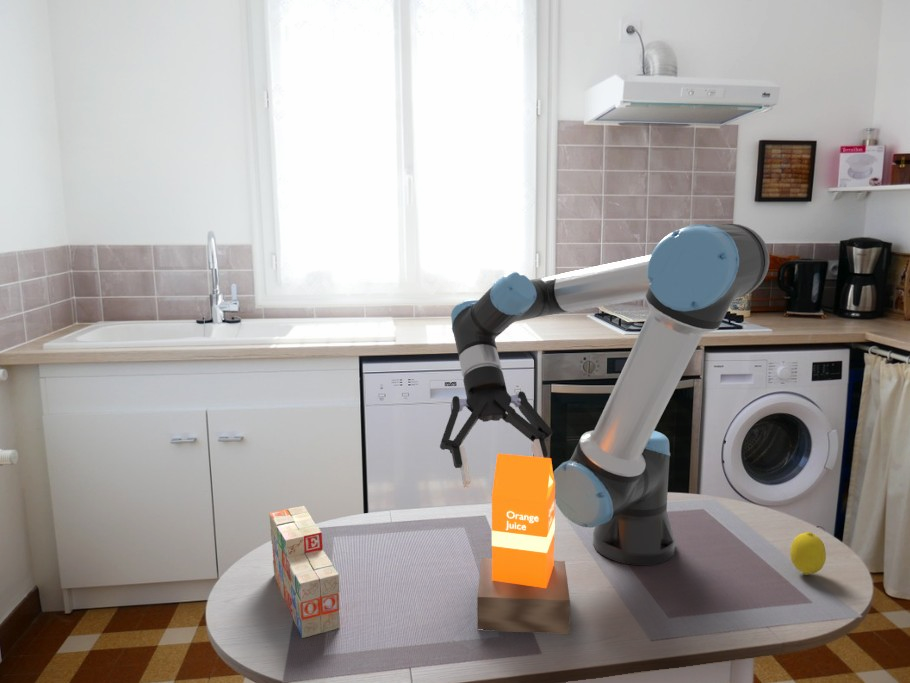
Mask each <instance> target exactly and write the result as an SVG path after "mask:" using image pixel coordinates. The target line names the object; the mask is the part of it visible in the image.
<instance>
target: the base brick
mask: <svg viewBox="0 0 910 683" xmlns="http://www.w3.org/2000/svg"><path fill="white" fill-rule="evenodd" d="M480 559H481V560H480V569H479V570H480V571H479V576H478V577H479V578H478V588H477V598H476V599H477V606H476V607H477V609H476V610H477V613H476V614H477V616H476V617H477V630H478V629H483V630H494V631H493V632H506V633H507V632H509V633H511V632H512V633H513V632H514V633H532V634H533V633H536V634H539V633H540V634H562V635H569V634H570V614H571V613H570V612H571V611H570V610H571V608H570V606H571V605H570V604H571V599H570V590H569V583H568V576H567V569H566V568H567V567H566V562H565V560H554V566H553V569H552V572H551V575H550V578H549V581H548V584H547V588H542V587H535V586H528V585H521V584H514V583H507V582H500V581H493V580H492V558H480ZM483 630H482V631H483Z"/></svg>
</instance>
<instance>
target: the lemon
mask: <svg viewBox="0 0 910 683" xmlns="http://www.w3.org/2000/svg"><path fill="white" fill-rule="evenodd" d="M789 551H790V552H789V553H790V554H789V555H790V560H791V562H792V565H793V566H794V567H795V568H796V569H797V570H798V571H799V572H802V573H803V574H804V576H809V575H810V574H815V573H817V572H819V571H821V569H822V568H823V567H824V565H825V564H826V559H827V553H826V551H827V550H826V547H825V543H824V542H823V540H822V539H821V538H820V537H819V536H818V535H816V534H814V533H813V532H811V531H807V532H803V533H799V534H798V535H796V536H795V537H794V538H793V539H792V542H791V546H790V550H789Z"/></svg>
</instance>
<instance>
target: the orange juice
mask: <svg viewBox="0 0 910 683" xmlns="http://www.w3.org/2000/svg"><path fill="white" fill-rule="evenodd" d="M496 455H497V456H496V461H495V462H496V463H495V470H494V477H493V478H494V479H493V486H492V492H491V559H492V580H493V581H500V582H507V583H514V584H521V585H528V586H535V587H542V588H547V584H548V581H549V578H550V575H551V572H552V569H553V566H554V561H555V531H556V530H555V528H556V526H555V523H556V518H555V511H556V510H555V509H556V508H555V507H556V506H555V505H556V500H555V482H554V476H553V473H554V471H553V464H552V458H550V457H546V458H542V457H534V456H528V455H519V454H518V455H517V454H508V453H507V454H506V453H497V454H496Z"/></svg>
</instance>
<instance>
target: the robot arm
mask: <svg viewBox="0 0 910 683" xmlns="http://www.w3.org/2000/svg"><path fill="white" fill-rule="evenodd" d="M769 267H770V254H769V250H768V246H767V244H766V242H765V240H764V239H763V238H762V236H761V235H760V234H758V233H757V232H756V231H755V230H754V229H751V228H750V227H748V226H745V225H742V224H737V223H724V224H723V223H722V224H712V225H711V224H705V223H703V224H691V225H688V226H685V227H682V228H680V229H676V230H674V231H672V232H669V234H667V235H666V236H664V237H663V238H662V239H661V240H660V241H659V242H658V243H657V245H656V246H655V247H654V248H653V250H652V252H651V254H647V255H643V256H642V255H641V256H639V257H634V258H630V259H629V258H628V259H623V260H621V261H620V260H619V261H615V262H609V263H606V264H601V265H596V266H592V267H587V268H586V267H585V268H583V269H578V270H572V271H568V272H563V273H559V274H554V275H553V274H552V275H548V276H545V277H538V278H533V279H530V278H529V277H527V276H526V275H524V274H523V273H521V274H520V273H519V272H517V271H509V272H507V273H505V274H504V275H503V276H501V278H499V279H497V280H496V281H495V282H494V283H493V284H492V285H491V287H490V288H489V289H488V290H487V291H486V292H485V293H484V294H483V295H482V297H480V298H479V299H467V300H463V301H462V302H461V303H458V304H456V305H455V306H454V307H453V308H452V311H451V312H450V318H451V330H452V333H453V338H454V342H455V345H456V352H457V356H458V361H459V364H460V365H459V366H460V371H461V376H462V378H463V380H462V381H463V387H464V389H465V390H464V391H465V395H466V398H459V396H457V395H455V396H453V397H452V400H451V403H450V411H451V413H450V416H449V418H448V421H447V424H446V426H445V430H444V432H443V434H442V438H441V441H440V445H439V448H440V449H441V450H443V451H445V450H448V451H449V453H450V454H451V456H452V463H453V466H454V468H455V469H460V475H461V479H462V484H463V486H462V487H463V488H469V487H470V484H471V475H470V470H469V465H468V459H467V454H466V449H465V445H462V444H463V443H464V441H465V440H466V438H467V436H468V435H469V433H470V432H471V430H472V428H473V427H474V426H475V425H476V423H477V422H478V420H479V421H482V422H483V423H484V422H485V423H486V422H490V421H494V422H495V421H498V422H499V421H500V420H503V421H504V422H505V423H507V424H510V425H511V426H513V428H515V429H516V430H517V431H519V432H520V433H521V434H523V436H525V437H526V438H527V439H529V440H530V441H531V442H532V444H531V446H530V448H531V452H532V455H533V456H532V457H542V458H548V451H547V446H546V443H545V441H549V440H550V438H551V437H552V435H553V430H552V429H551V427H550V426H549V425H548V424H547V422H546V421H545V420H544V419H543V418H542V417H541V415H540V414H539V413H538V412H537V410H536V409H535V408H534V407H533V406H532V404H531V403H530V402H529V400H528V398H527V396H526V393H525V392H524V391H519V392H518V394H513V395H510V394H509V393H508V390H507V386H506V380H505V377H504V372H503V371H502V364H501V361H500V357H499V352H498V346H497V344H496V338H497V337H499V335H501V334H502V333H503V332H504V331H505V330H506V329H508V328H509V327H510V326H511V325H512V324H513V323H516V322H520V321H525V320H530V319H531V320H532V319H535V318H540V317H545V316H552V315H553V316H554V315H559V314H564V313H568V312H575V311H581V310H585V309H586V310H587V309H593V308H599V307H605V306H612V305H617V304H624V303H631V302H638V301H643V300H645V302H646V304H647V307H648V309H649V312H648V314H647V316H646V319H645V321H644V323H643V325H642V328H641V330H640V332H638V336H637V338H636V339H635V342H634V345H633V347H632V348H631V351H630V352H629V355H628V357H627V359H626V361H625V363H624V366H623V367H622V370H621V371H620V372H621V373H620V374H619V376H618V378H617V380H616V382H615V385H614V387H613V389H612V391H611V393H610V395H609V398H608V400H607V402H606V403H605V406H604V409H603V410H602V413H601V414H600V416H599V419H598V421H597V423H596V425H595V427H594V429H593V430H589V431H586V432H584V433H583V434H582V435H581V437H580V439H579V441H578V442H577V444H576V447H575V449H574V451H573V453H572V456H571V458H570V459H569V460H567V461H564V462H562V463H561V464H560V465H559V466H557V468H555V470H554V471H553V476H554V482H555V505H556V506H557V508H558V509H559V510H560V512H561V513H562V514H563V516H564V517H565V518H566V519H568V520H569V521H570V522H571V523H573V524H575V525H577V526H579V527H582V528H591V529H592V528H593V532H592V534H593V535H592V545H593V547H594V549H595V550H596V551H597V552H598V553H599V554H601V555H602V556H604V557H606V558H608V559H609V560H612V561H615V562H618V563H622V564H627V565H635V566H649V565H650V566H651V565H657V564H662V563H665V562H666V561H668V560H670V559H671V558H672V557H673V556H674V554H675V551H676V550H675V547H676V539H675V536H674V531H673V528H672V525H671V522H670V518H669V515H668V510H667V509H668V507H667V506H668V489H669V475H670V474H669V472H670V458H671V452H670V441H669V438H668V437H667V436H666V435H665V434H664V433H661V432H659V431H657V430H655V429H656V428H657V425H658V423H659V421H660V419H661V417H662V415H663V413H664V411H665V410H666V407H667V405H668V404H669V402H670V399H671V398H672V396H673V394H674V392H675V390H676V388H677V387H678V384H679V382H680V380H681V378H682V377H683V375H684V372H685V371H686V369H687V367H688V366H689V363H690V361H691V359H692V357H693V355H694V353H695V351H696V350H697V347H698V346H699V343H700V341H701V339H702V337H703V335H704V334H707V333H710V332H711V333H712V332H715V331H717V330H718V329H719V328H720V326H721V324H722V322H723V320H724V318H725V317H726V314H727V313H728V310H729V309H730V307H731V305H732V303H733V301H734V300H736V299H739V298H742V297H745V296H747V295H749V294H751V293H752V292H753V291H754V290H756V289H757V288H758V287H759V286H760V285H761V284H762V283H763V281H764V279H765V278H766V276H767V273H768V271H769ZM511 404H513V405H514V406H515V408H518V410H519V412H520V413H521V414H522V415H523V416H524V417H523V416H521V415H520V414H519V413H517V411H516V409H514V407H513V406H511ZM464 407H465V408H466V409H468V411H469V412H471V413H470V415H469V417H468V418H467V420H466V421H465V423H464V424H463V426H462V427H461V429H460V430H459V432H458V433H457V434H456V436H455V438H454V439H453V440H452V439H450V438H451V436H452V434H453V433H452V432H453V430H454V427H455V424H456V421H457V418H458V415H459V413H460V412H462V411H463V409H464Z"/></svg>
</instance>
